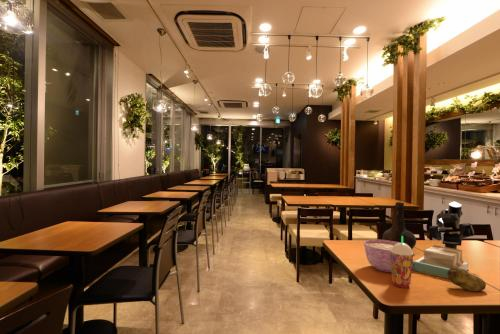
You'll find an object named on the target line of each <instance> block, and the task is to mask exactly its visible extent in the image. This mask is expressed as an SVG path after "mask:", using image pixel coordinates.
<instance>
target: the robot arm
mask: <svg viewBox="0 0 500 334" xmlns="http://www.w3.org/2000/svg"><path fill="white" fill-rule="evenodd" d="M462 208H463V205H462V204H461V203H459V202H457V201H452V202H450V203H448V208H445V209H441V210H440V213H438V214H437V215H436V218H435V225H430V227H429V228H428V229H429V232H430V234H431V236H432V237H431V238H433V239H436V240H438V242H439V241H441V244H443V245H444V247H448V248H453V249H458V246H459V247H461V246H462V241H463V239H465V238H470V237H473V236H474V235H475V230H474V228H473V225H472V224H471V223H470V222H468V223H467V222H466V223H461V217H462V215H463V211H462ZM460 223H461V225H460Z"/></svg>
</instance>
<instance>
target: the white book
mask: <svg viewBox="0 0 500 334" xmlns="http://www.w3.org/2000/svg"><path fill="white" fill-rule="evenodd" d="M458 268H461V269H464V270H466V271H467V272H468V270H469V262H466V261H464V262H462V265H461V266H459V267H458ZM448 270H449V269H448V268H444V267H439V266H435V265H430V264H426V263H424V255H423V256H422V257H420V258H419V259H417V260H413V263H412V271H414V272H419V273H424V274H427V275H431V276H434V277H435V276H436V277H440V278H444V279H448V280H449V278H448V275H447V272H448Z"/></svg>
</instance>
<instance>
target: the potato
mask: <svg viewBox="0 0 500 334" xmlns="http://www.w3.org/2000/svg"><path fill="white" fill-rule="evenodd" d="M447 275H448V278H449V279H448V281H450V282H451V283H452V285H455V286H458V287H460V288H461V289H463V290H465V291H467V292H468V291H469V292H480V291H481V292H482V291H484V290H485V289H486V287H487V283H486V282H485V281H484V280H483V278H481V277H478V276H476V275H474V274H473V273H470V272H468V270H467V271H466V270H464V269H461V268H456V267H455V268H450V269H449V270H448V272H447Z"/></svg>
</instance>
